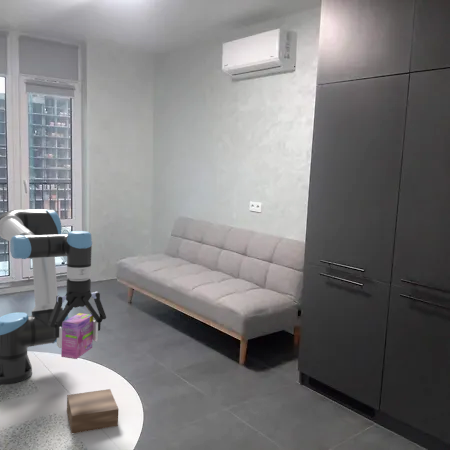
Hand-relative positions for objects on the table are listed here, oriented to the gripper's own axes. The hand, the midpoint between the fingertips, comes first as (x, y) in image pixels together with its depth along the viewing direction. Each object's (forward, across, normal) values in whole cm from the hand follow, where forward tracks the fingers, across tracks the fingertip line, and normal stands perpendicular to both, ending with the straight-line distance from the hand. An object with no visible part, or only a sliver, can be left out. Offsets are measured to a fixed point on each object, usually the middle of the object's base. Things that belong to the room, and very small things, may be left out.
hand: (77, 343), depth 151 cm
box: (+3, 0, 0) cm, 3 cm away
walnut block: (+23, +2, -8) cm, 25 cm away
